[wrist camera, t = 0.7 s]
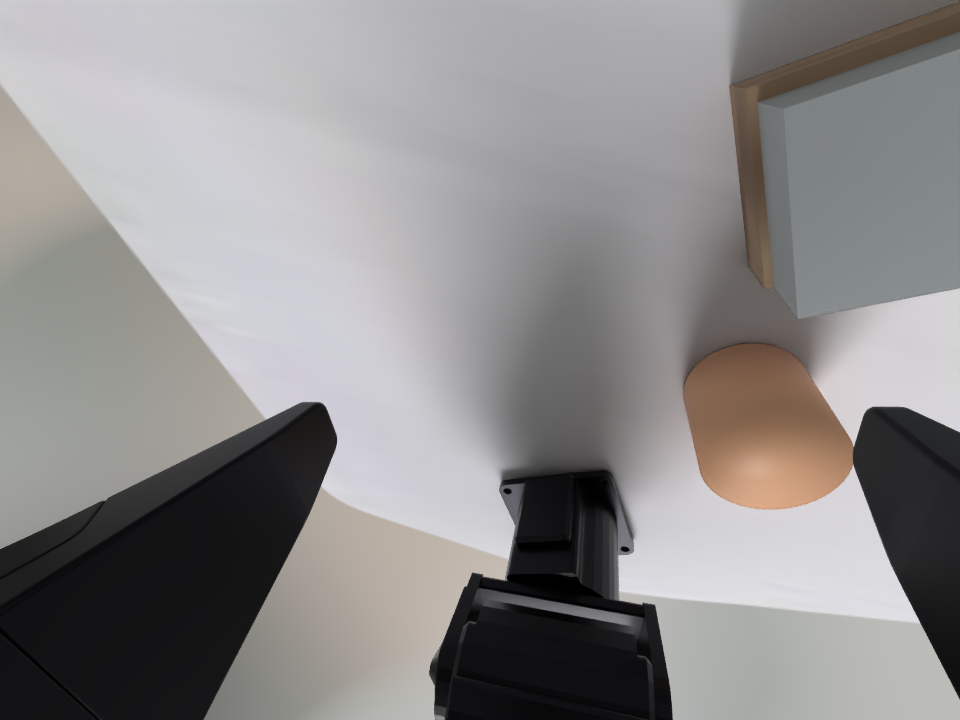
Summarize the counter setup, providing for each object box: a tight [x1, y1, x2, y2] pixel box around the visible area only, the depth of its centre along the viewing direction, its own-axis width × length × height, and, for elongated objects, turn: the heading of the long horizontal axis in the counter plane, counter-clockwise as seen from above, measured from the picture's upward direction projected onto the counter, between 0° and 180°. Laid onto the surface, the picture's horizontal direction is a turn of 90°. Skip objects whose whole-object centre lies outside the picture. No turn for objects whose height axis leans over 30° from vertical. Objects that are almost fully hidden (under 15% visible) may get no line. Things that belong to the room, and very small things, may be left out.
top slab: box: [757, 32, 960, 319], centre depth 13 cm, size 6×6×2 cm
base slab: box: [729, 2, 960, 290], centre depth 15 cm, size 6×6×2 cm
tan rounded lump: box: [683, 343, 854, 510], centre depth 19 cm, size 5×5×4 cm
